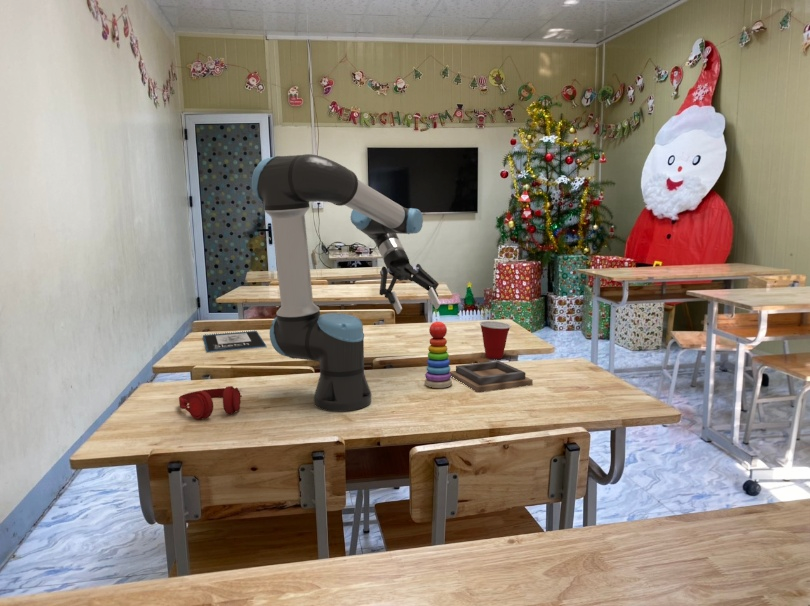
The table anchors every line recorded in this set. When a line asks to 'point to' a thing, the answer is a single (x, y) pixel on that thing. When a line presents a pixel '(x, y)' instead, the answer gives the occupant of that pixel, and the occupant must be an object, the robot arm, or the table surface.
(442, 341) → the stacking toy
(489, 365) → the board
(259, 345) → the sketchbook
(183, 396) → the headphones
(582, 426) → the table surface
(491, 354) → the plastic cup
